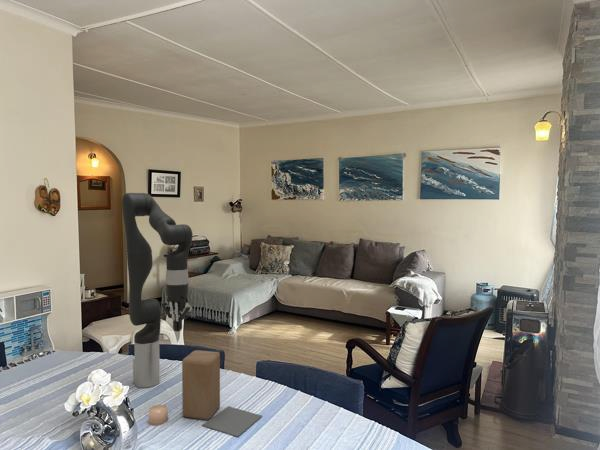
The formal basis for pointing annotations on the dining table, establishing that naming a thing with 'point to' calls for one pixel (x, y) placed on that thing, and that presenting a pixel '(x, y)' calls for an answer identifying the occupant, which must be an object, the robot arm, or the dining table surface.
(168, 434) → the dining table surface
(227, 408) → the mat
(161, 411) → the tan rounded lump
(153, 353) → the robot arm
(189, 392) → the block
